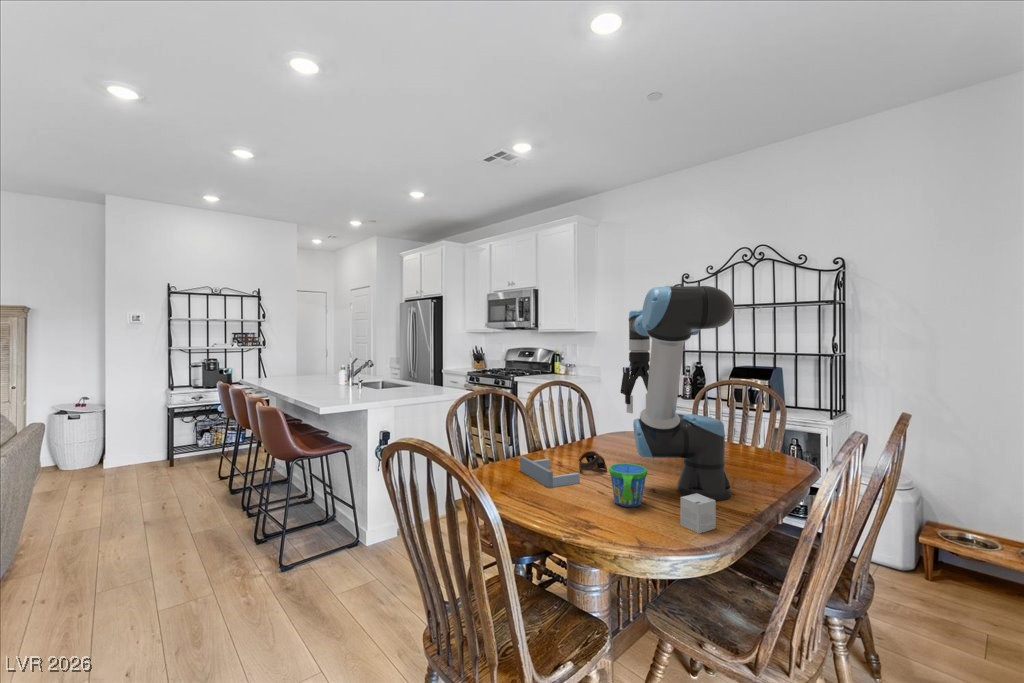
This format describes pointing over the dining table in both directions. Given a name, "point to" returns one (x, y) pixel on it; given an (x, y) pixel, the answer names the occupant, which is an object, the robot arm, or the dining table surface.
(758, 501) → the dining table surface
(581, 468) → the pottery mug
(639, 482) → the snack cup
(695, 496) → the skincare box
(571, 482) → the seat channel
